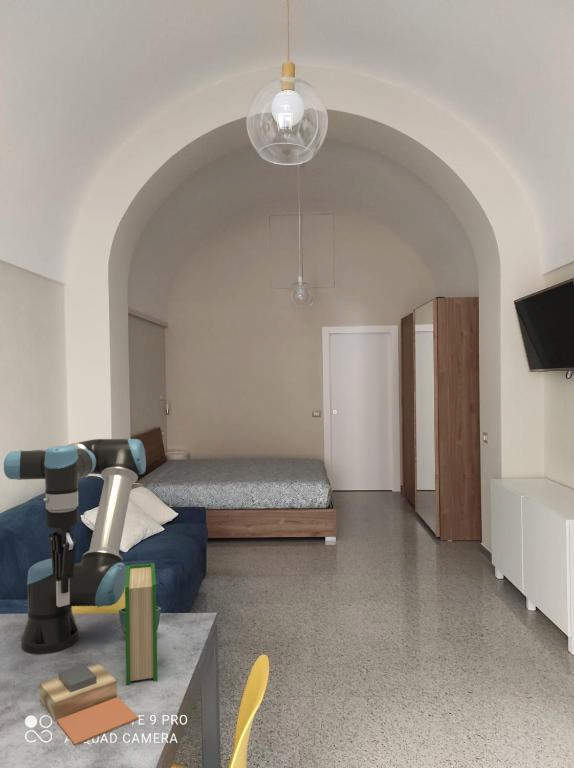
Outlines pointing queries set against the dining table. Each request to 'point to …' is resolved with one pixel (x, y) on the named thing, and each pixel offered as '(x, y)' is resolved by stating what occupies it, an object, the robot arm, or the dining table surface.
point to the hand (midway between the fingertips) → (63, 604)
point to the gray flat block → (77, 678)
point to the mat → (96, 720)
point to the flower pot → (122, 618)
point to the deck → (77, 694)
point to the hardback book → (140, 622)
